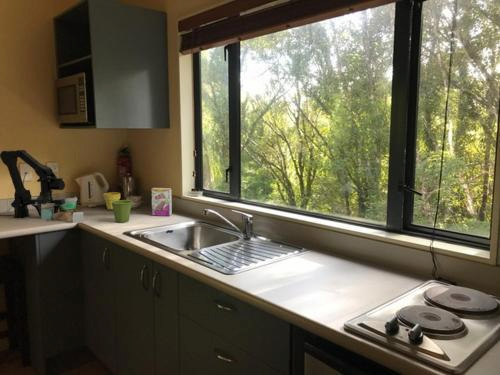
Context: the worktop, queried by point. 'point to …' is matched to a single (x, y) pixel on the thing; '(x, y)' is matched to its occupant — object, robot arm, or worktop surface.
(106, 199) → the plant pot
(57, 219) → the walnut block
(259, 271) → the worktop surface
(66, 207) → the food container
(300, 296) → the worktop surface
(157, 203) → the candy bar box
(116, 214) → the plant pot
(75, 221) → the grey cube
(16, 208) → the robot arm
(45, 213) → the teal cube
